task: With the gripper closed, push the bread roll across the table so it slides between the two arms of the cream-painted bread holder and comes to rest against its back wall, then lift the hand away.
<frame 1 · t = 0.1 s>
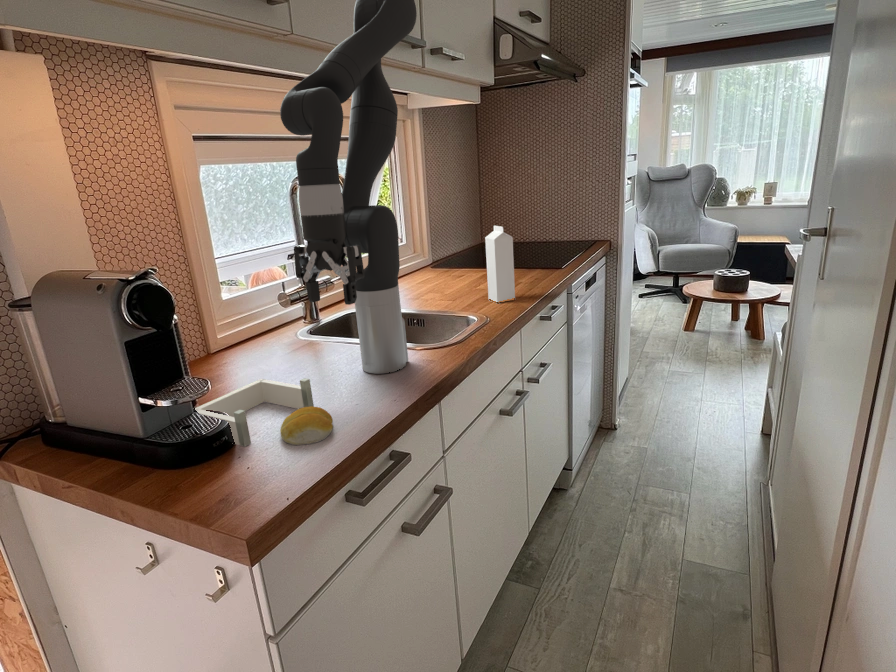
hand: (332, 302, 103), 17 cm above the worktop, tool pointing down, fingers open, 8 cm apart
holder: (257, 420, 97), on the worktop
bread roll: (309, 435, 91), on the worktop
milk: (501, 301, 169), on the worktop
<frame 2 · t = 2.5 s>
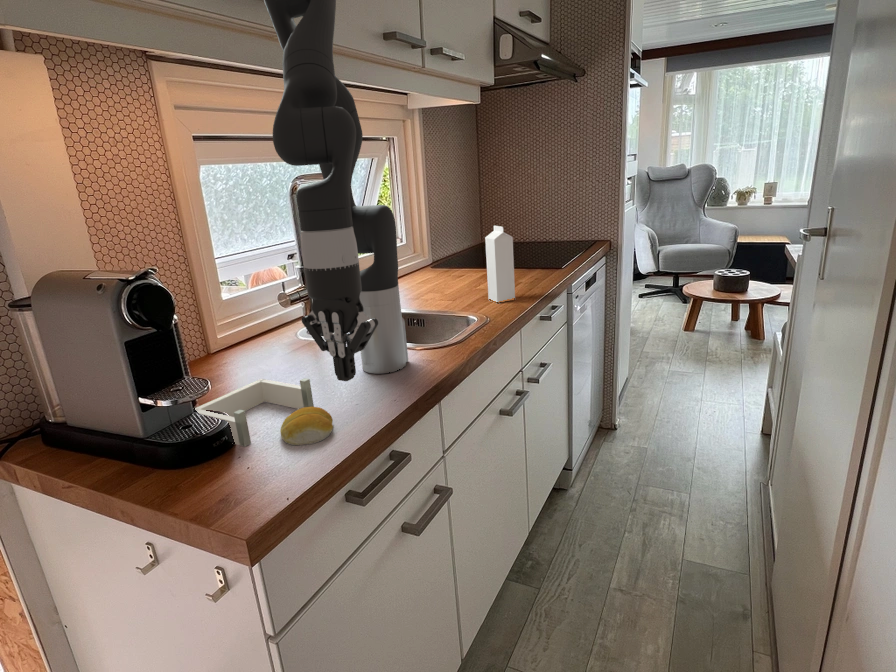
hand: (346, 379, 83), 11 cm above the worktop, tool pointing down, fingers closed
nothing on the worktop moved.
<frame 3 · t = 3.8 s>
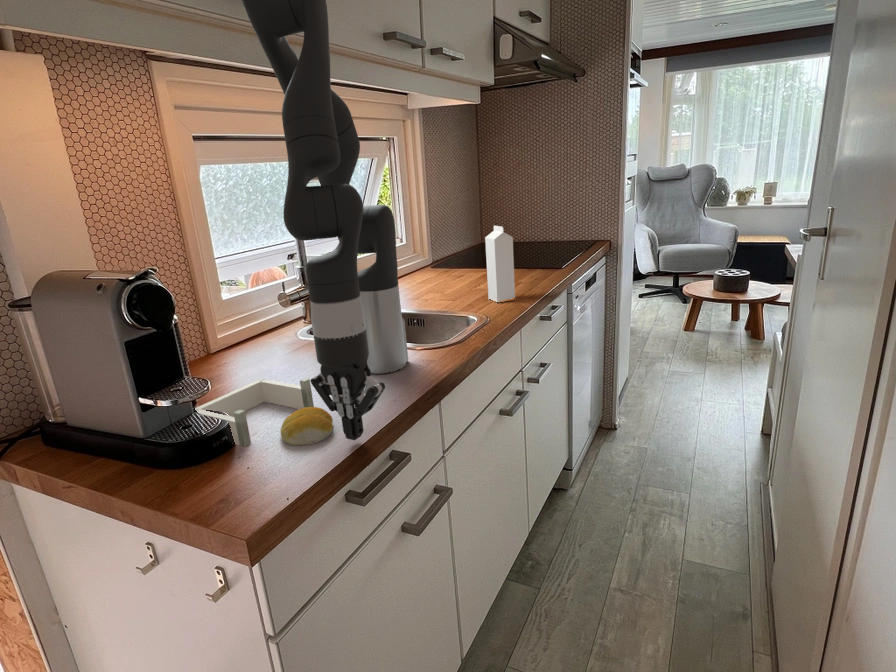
hand: (354, 437, 86), 1 cm above the worktop, tool pointing down, fingers closed
nothing on the worktop moved.
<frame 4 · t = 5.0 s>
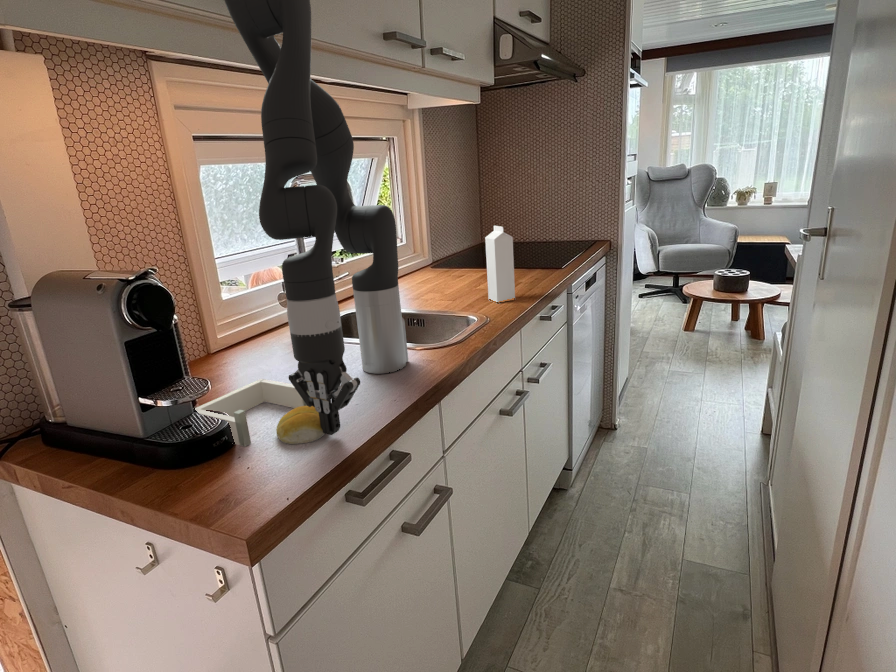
hand: (331, 432, 88), 1 cm above the worktop, tool pointing down, fingers closed
bread roll: (305, 434, 91), on the worktop, touching gripper
everything else where it was.
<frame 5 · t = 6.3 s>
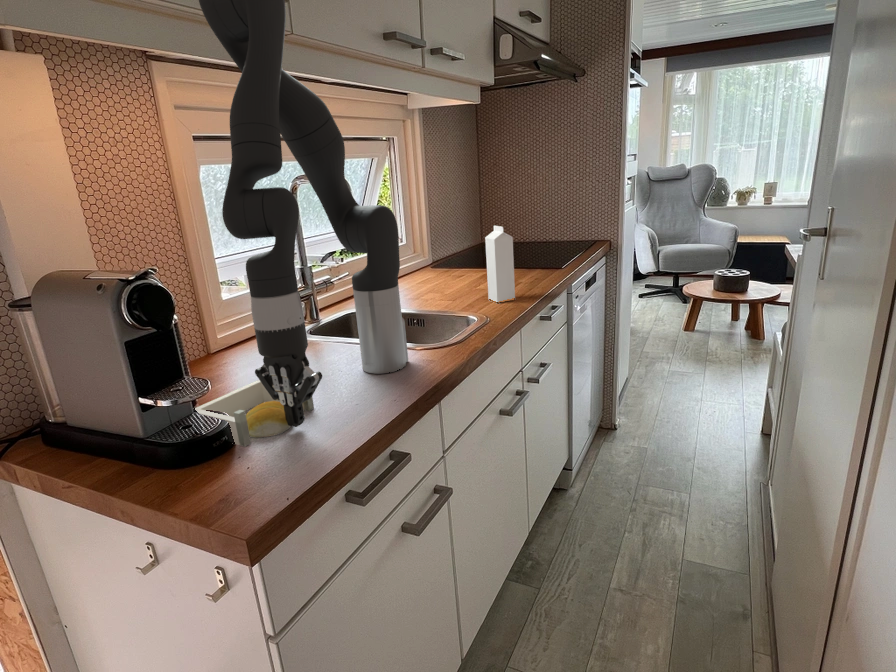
hand: (296, 424, 92), 1 cm above the worktop, tool pointing down, fingers closed
bread roll: (270, 428, 95), on the worktop
everything else where it was.
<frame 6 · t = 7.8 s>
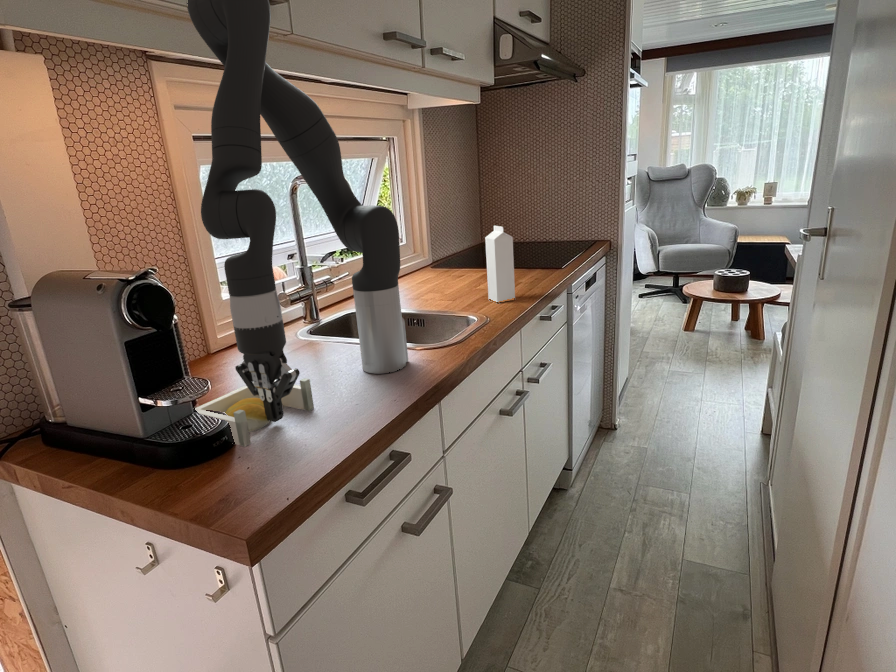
hand: (275, 419, 94), 1 cm above the worktop, tool pointing down, fingers closed
bread roll: (249, 424, 97), on the worktop
everything else where it was.
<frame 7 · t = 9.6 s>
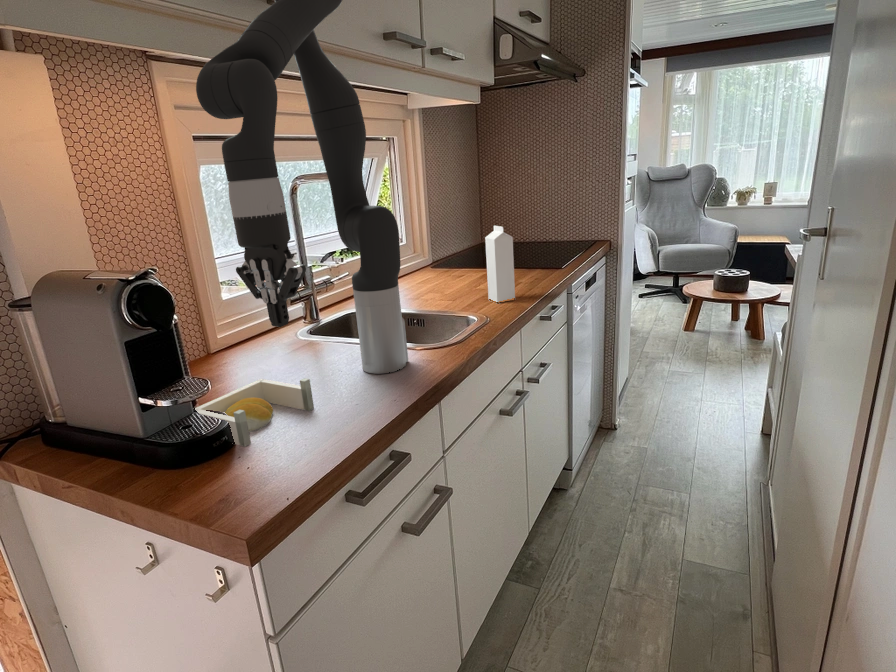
hand: (280, 325, 87), 18 cm above the worktop, tool pointing down, fingers closed
nothing on the worktop moved.
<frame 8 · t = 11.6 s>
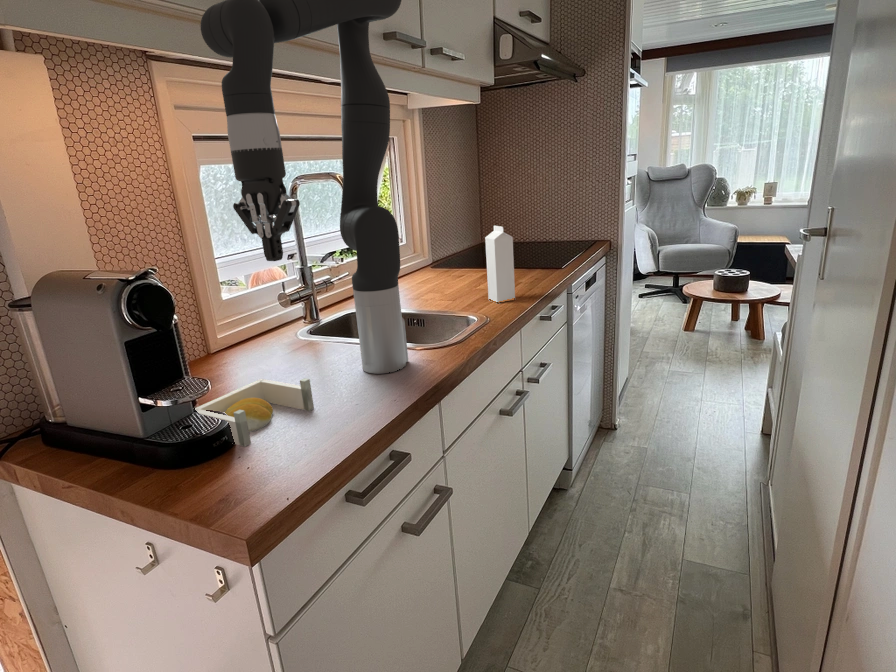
hand: (274, 260, 91), 27 cm above the worktop, tool pointing down, fingers closed
nothing on the worktop moved.
at the end: bread roll inside the target area on the holder (1.2 cm from its centre), point -0.5 cm above the holder's base; bread roll moved 13.0 cm from its start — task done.
